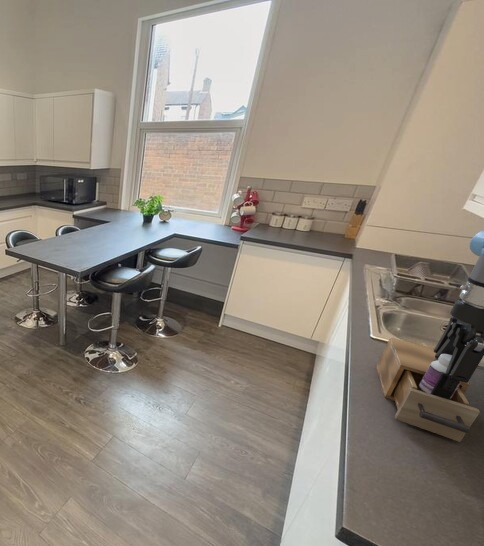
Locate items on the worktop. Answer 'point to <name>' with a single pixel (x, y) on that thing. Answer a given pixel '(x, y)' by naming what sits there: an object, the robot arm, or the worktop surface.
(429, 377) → the pill bottle
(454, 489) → the worktop surface
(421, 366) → the cabinet
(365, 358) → the worktop surface
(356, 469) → the worktop surface
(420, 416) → the drawer
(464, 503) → the worktop surface
